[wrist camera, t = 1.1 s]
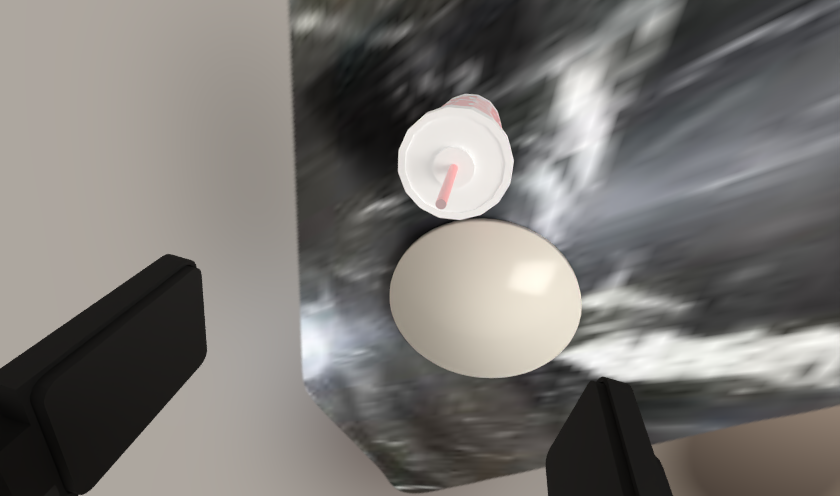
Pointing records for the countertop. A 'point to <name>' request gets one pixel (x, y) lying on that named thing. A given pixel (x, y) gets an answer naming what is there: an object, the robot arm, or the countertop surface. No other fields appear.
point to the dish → (485, 298)
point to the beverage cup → (456, 159)
